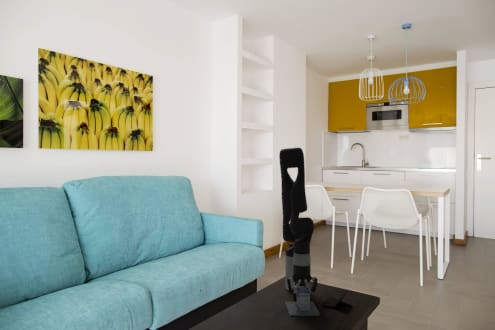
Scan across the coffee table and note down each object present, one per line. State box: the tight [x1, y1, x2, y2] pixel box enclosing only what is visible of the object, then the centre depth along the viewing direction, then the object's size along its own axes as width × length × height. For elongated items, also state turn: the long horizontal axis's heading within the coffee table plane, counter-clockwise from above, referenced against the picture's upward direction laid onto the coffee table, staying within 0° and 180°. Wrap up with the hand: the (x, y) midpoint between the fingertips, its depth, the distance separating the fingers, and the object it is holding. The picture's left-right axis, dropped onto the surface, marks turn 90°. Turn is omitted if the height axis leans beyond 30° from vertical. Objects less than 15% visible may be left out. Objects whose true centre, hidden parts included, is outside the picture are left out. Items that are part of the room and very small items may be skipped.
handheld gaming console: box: [321, 290, 348, 310], centre depth 165 cm, size 12×7×10 cm
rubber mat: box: [284, 301, 321, 317], centre depth 160 cm, size 14×13×1 cm
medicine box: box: [294, 286, 311, 311], centre depth 159 cm, size 8×4×9 cm, turn 8°
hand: (301, 300), depth 160 cm, fingers open, 5 cm apart
